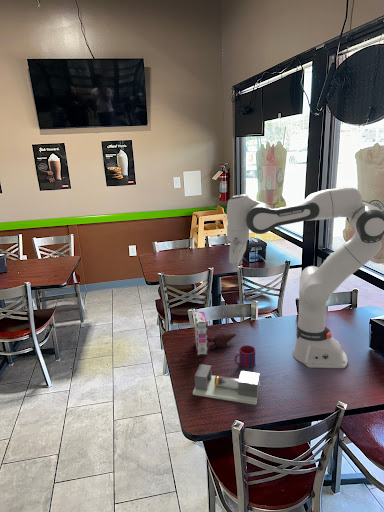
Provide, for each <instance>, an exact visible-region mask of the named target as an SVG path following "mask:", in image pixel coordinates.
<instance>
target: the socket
mask: <svg viewBox="0 0 384 512" xmlns="http://www.w3.org/2000/svg"><path fill="white" fill-rule="evenodd" d="M211 375H212V365H209V364H203V363H200V364H199V366H198V368H197V371H196V372H195V374H194V384H195V385H194V388H195V389H197V390H203V391H207V380H211V379H212V377H211Z"/></svg>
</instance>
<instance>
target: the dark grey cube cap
mask: <svg viewBox="0 0 384 512" xmlns="http://www.w3.org/2000/svg"><path fill="white" fill-rule="evenodd" d="M238 379H239V381H238V395H242V396H248V397H255V398H257V396H258V397H259V393H258V391H259V392H260V387H259V382H260V373H259V372H252V371H245V370H240V374H239V377H238ZM257 399H258V398H257Z"/></svg>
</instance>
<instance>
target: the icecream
mask: <svg viewBox="0 0 384 512" xmlns="http://www.w3.org/2000/svg"><path fill="white" fill-rule="evenodd" d="M236 336H237V334H236V333H223V332H222V331H220V332H218V333H216V335H214V336H213V337H212V336H210V337H207V343H212V344H210V345H209V346H208V349H209V350H214V349H216V348H217V347H219V348H224V347H227V345H228V343H229V342H230V341H231V340H232V339H234V338H235V337H236Z"/></svg>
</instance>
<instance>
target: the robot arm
mask: <svg viewBox="0 0 384 512" xmlns="http://www.w3.org/2000/svg"><path fill="white" fill-rule="evenodd" d="M336 218H346V220H347V223H348V224H350V226H351V227H352V229H353V230H354V233H353V235H352V236H351V237H350V239H349V240H347V241H346V242H344V243H343V244H342V245H341V246H339V247H338V248H337V249H336V250H334V251H333V252H331V253H330V254H329V255H328V256H327V257H326V259H325V260H324V261H323V262H322V264H321V265H320V266H319V267H317V266H315V265H310V266H309V265H308V266H307V267H305V268H304V269H303V270H302V271H301V273H300V276H299V285H298V286H299V288H298V289H299V290H298V318H297V319H298V320H297V321H298V322H297V325H296V334H295V336H296V340H295V346H294V348H293V350H292V356H293V357H294V359H296V360H297V361H299V362H300V363H303V364H304V365H305V366H306V367H308V368H309V369H310V368H311V369H312V368H314V369H315V368H316V369H317V368H319V369H324V368H325V369H345V368H346V367H347V366H348V356H347V353H346V352H345V351H344V350H343V349H342V346H341V344H340V342H339V341H338V340H337V339H335V338H334V337H333V336H332V333H331V330H330V329H329V326H328V325H327V327H326V321H327V302H328V301H329V298H330V297H331V296H332V294H333V293H334V292H335V291H337V289H338V288H339V287H340V286H341V284H342V283H344V282H345V280H347V279H348V278H349V277H350V276H351V275H352V274H354V273H356V272H357V271H359V269H361V268H362V267H363V266H365V265H366V264H367V263H369V262H370V261H371V260H372V259H373V258H374V257H375V256H376V255H377V254H378V253H379V252H380V251H381V249H382V246H383V245H382V241H381V240H382V239H383V236H384V212H383V211H382V210H381V209H380V208H379V207H377V205H376V206H375V205H373V204H372V203H370V202H369V201H365V200H363V197H362V194H361V193H360V191H359V190H358V189H357V188H354V187H336V188H329V189H323V190H319V191H316V192H313V193H310V194H309V195H308V196H306V198H305V199H304V200H303V201H301V202H300V203H297V204H293V205H288V206H283V207H278V208H272V207H271V206H270V205H269V204H268V203H266V202H263V201H259V200H255V199H254V198H252V197H250V196H248V195H247V194H244V193H243V194H237V195H233V196H231V197H230V198H229V199H228V201H227V204H226V220H227V226H226V240H227V241H229V243H230V245H229V249H228V251H229V252H228V253H229V254H228V256H229V257H228V262H229V264H232V268H233V272H234V273H238V272H239V265H240V266H241V265H242V264H243V258H244V255H245V252H246V250H247V244H248V241H249V240H250V231H251V233H254V234H257V235H263V234H264V235H265V234H266V233H269V232H270V231H272V230H273V229H275V228H277V227H281V226H285V225H291V224H295V223H300V222H305V221H323V220H329V219H336Z"/></svg>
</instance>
